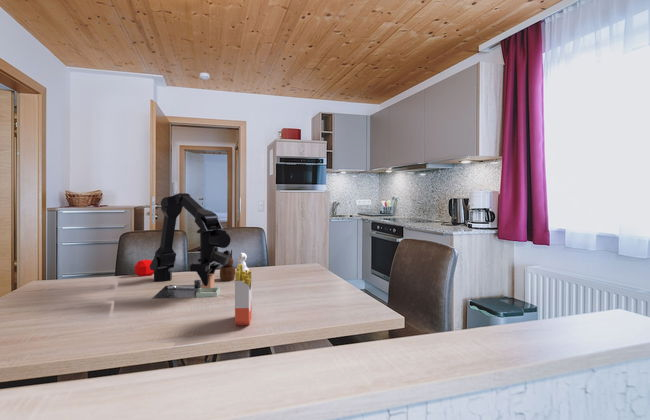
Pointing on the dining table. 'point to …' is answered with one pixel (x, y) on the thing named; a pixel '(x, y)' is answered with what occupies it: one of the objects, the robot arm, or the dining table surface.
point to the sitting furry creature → (242, 262)
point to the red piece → (143, 268)
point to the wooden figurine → (228, 270)
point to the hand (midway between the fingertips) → (208, 284)
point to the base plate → (176, 292)
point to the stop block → (209, 282)
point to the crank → (196, 287)
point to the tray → (210, 294)
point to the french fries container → (243, 296)
